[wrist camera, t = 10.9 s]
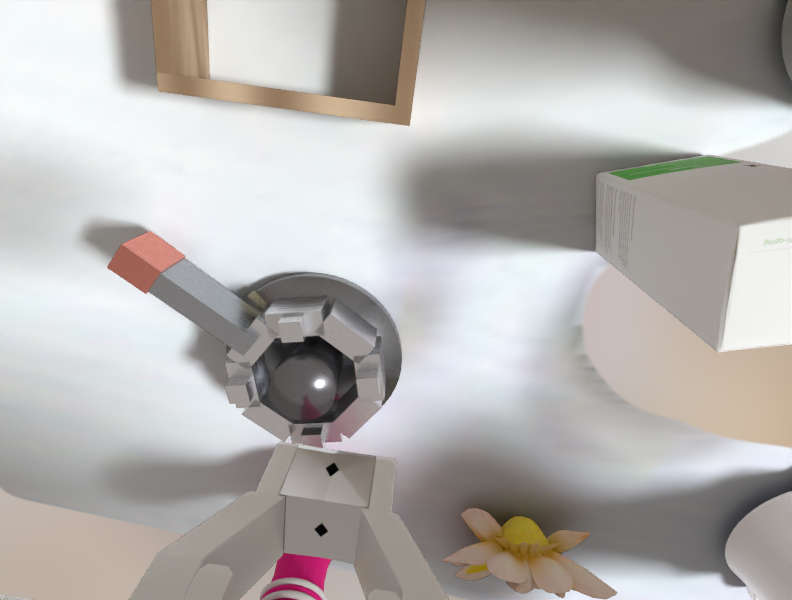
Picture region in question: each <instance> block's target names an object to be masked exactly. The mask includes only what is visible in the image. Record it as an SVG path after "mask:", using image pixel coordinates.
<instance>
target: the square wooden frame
mask: <svg viewBox="0 0 792 600" xmlns="http://www.w3.org/2000/svg"><path fill="white" fill-rule="evenodd" d="M425 3H426V0H407V7H406V16H405V25H404V33H403V42H402V51H401V59H400V68H399V77H398V85H397V94H396V103H395V105H388V104H381V103H374V102H367V101H359V100H352V99H345V98H338V97H331V96H323V95H316V94H309V93H302V92H295V91H287V90H280V89H273V88H266V87H259V86H251V85H244V84H237V83H230V82H223V81H215V80H210V74H209V47H208V21H207V0H151V8H152V21H153V33H154V46H155V58H156V71H157V83H158V91H160V92H167V93H175V94H182V95H189V96H196V97H204V98H211V99H218V100H225V101H233V102H240V103H247V104H254V105H262V106H269V107H276V108H284V109H291V110H298V111H305V112H313V113H320V114H327V115H334V116H342V117H349V118H356V119H363V120H371V121H378V122H385V123H392V124H400V125H407V126H410V119H411V111H412V103H413V96H414V88H415V80H416V72H417V65H418V57H419V49H420V41H421V34H422V26H423V18H424V11H425Z"/></svg>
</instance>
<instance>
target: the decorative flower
mask: <svg viewBox="0 0 792 600" xmlns="http://www.w3.org/2000/svg"><path fill="white" fill-rule="evenodd" d="M461 516H462V518H463V519H464V521H465V522H466V524H467V525H468V526H469V528H470V529H471V530H472V531H473V533H474V534H475V535H476V536H477V537H478V539H479V540H480V541H481V542H480V543H476V544H473V545H470V546H467V547H464V548H462V549H460V550H458V551H457V552H455V553H453V554H452V555H450V556H448V557H446V558H444V559H442V561H444V562H451V564H453V565H455V566H462V567H461V569H460V570H459V571H458V572H457V573H456V574H455V575H454V576H456V577H458V578H461V579H464V580H467V581H469V580H479V579H481V578H484V577H487V576H489V575H490V574H491V573H492V575H494V576H495V577H497V578H498V579H501V580H505V581H507V584H508V585H509V586H510V587H511V588H512V589H513V590H514V591H516V592H519V593H521V594H522V593H528V592H529V591H531V590H533V588H537V589H543V590H544V591H546V592H548V593H555V594H556V595H557V596H559V597H561V598H564V596H565V592H569V591H570V590H571V589H572V590H574V591H578V592H580V593H583V594H585V595H588V596H590V597H593V598H599V599H608V598H610V597H612V596H614V595H616V594H617V592H616V591H615V590H614V589H612V588H611V587H610V586H608V585H607V584H606V583H604V582H603V581H602V580H600V579H599V578H598V577H596V576H595V575H594V574H592V573H591V572H589V571H588V570H586V569H585V568H583V567H582V566H580V565H578V564H577V563H575V562H574V561H572V560H570V559H568V558H566V557H564V556H562V555H560V554H561V553H563V552H565V551H568V550H569V549H571V548H573V547H575V546H576V545H578V544H579V543H580V542H582V541H583V540H584V539H586V538H587V537H588V536H589V535H590V533H587V532H580V531H570V530H559V531H556V532H554V533H553V534H551V535H550V536H549V537H547V538H546V537H545V536H544V534H543V532H542V531H541V529H540V528H539V526H538V525H537V524H536V523H535V522H534V521H533V520H532V519H529V518H526V517H524V516H514V517H512V518H511V519H509V520H508V521H507V522H506V523H505V524H504V525H503V526H502V527H501V526H500V525H499V524H498V523H497V521H496V520H495V519H494V518H493V517H492V516H491V515H490V514H489V513H488V512H486V511H484V510H481V509H479V508H470V509H468V510H466V511H464V512H463V513H462V514H461Z"/></svg>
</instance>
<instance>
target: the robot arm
mask: <svg viewBox="0 0 792 600" xmlns="http://www.w3.org/2000/svg"><path fill="white" fill-rule="evenodd" d="M375 459H376V460H375ZM395 472H396V459H395V458H388V457H380V456H372V455H365V454H358V453H350V452H343V451H335V450H330V449H324V448H318V447H313V446H307V445H301V444H300V445H298V444H293V443H287V442H282V441H280V442H279V443H278V444H277V446H276V448H275V450H274V452H273V454H272V456H271V459H270V461H269V463H268V465H267V467H266V470H265V472H264V474H263V476H262V478H261V480H260V483H259V485H258V487H257V489H256V491H248V492H247V493H245V494H244V495H242V496H241V497H239V498H238V499H236V500H235V501H234V502H232V503H231V504H229V505H228V506H226V507H225V508H223V509H222V510H220V511H219V512H217V513H216V514H214V515H213V516H212V517H210V518H209V519H207V520H206V521H204V522H203V523H201V524H200V525H198V526H197V527H195V528H194V529H192V530H191V531H190V532H188V533H187V534H185V535H184V536H182V537H181V538H179V539H178V540H176V541H175V542H174V543H172V544H171V545H169V546H168V547H166V548H165V549H163V550H162V551H160V552H159V553H158V554H157V555H156V557H155V558H154V560H153V562H152V563H151V565H150V566H149V568H148V570H147V571H146V573H145V575H144V576H143V578H142V579H141V581H140V583H139V584H138V586H137V587H136V589H135V590H134V592H133V594H132V595H131V597H130V598H129V600H240V598H242V597H243V595H244V594H245V593H246V592H247V591H248V590H249V589H250V588H251V587H252V586H253V585H254V584H255V583H256V582H257V581H258V580H259V579H260V578H261V577H262V576H263V575H264V574H265V573H266V572H267V571H268V570H269V569H270V568H271V567H272V566H273V565H274V564H275V563H276V562H277V561H278V560H279V559H280V558H281V557H282V555H283V553H289V554H297V555H306V556H314V557H321V558H326V559H332V560H337V561H343V562H348V563H353V564H354V568H355V570H356V573H357V575H358V578H359V581H360V584H361V587H362V589H363V592H364V595H365V598H366V600H449V598H448V597H447V595H446V593H445V592H444V590H443V588H442V586H441V585H440V583H439V581H438V580H437V578H436V576H435V575H434V573H433V571H432V570H431V568H430V566H429V565H428V563H427V561H426V560H425V558H424V556H423V555H422V553H421V551H420V549H419V548H418V546H417V544H416V543H415V541H414V539H413V538H412V536H411V534H410V533H409V531H408V529H407V528H406V526H405V524H404V523H403V521H402V519H401V518H400V516H399V514H398V513H394V512H392V507H393V495H394V484H395ZM372 480H373V481H372ZM725 558H726V562H727V564H728V566H729V568H730V569H731V570H732V571H733V573H735V574H736V575H737V576H738V577H739V578H740V579H741V580H742V581H743V582H744V583H745V584H746V587H747V590H748V593H749V595H750V596H751V598H752V599H753V600H792V491H790V492H787V493H784V494H781V495H779V496H777V497H774V498H772V499H770V500H768V501H766V502H765V503H763V504H761V505H760V506H758V507H756V508H755V509H754V510H752V511H751V512H750V513H748V514H747V515H746V516H745V517H744V518H743V519H742V520H741V521H740V522H739V523H738V524H737V525H736V527H735V528H734V529H733V531H732V532H731V534H730V536H729V538H728V540H727V543H726V548H725ZM0 600H34V599H28V598H21V597H15V596H8V595H1V594H0Z"/></svg>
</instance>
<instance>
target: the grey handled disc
mask: <svg viewBox="0 0 792 600" xmlns="http://www.w3.org/2000/svg"><path fill="white" fill-rule="evenodd" d="M107 268H108V269H110V270H111V271H113V272H114V273H116V274H117V275H119V276H120V277H122V278H123V279H125V280H126V281H128V282H129V283H131V284H132V285H134V286H135V287H137V288H138V289H139V290H141V291H142V292H144V293H145V294H146V293H148V292H150V293H151V294H153V295H154V296H156V297H157V298H159V299H160V300H161V301H163V302H164V303H166V304H167V305H169V306H170V307H172V308H173V309H175V310H176V311H178V312H179V313H181V314H182V315H183V316H185V317H186V318H188V319H189V320H191V321H192V322H194V323H195V324H197V325H198V326H200V327H201V328H203V329H204V330H206V331H207V332H208V333H210V334H211V335H213V336H214V337H216V338H217V339H219V340H220V341H222V342H223V343H225V344H226V345H228V346H229V347H231V348H232V349H231V350H230V351H229V353H228V354H227V355H226V356H227V357H229V358H228V359H227V361H226V362H225V367H226V370H227V374H228V378H229V381H228V382H227V384H226V385H225V388H226V392H227V395H228V399H229V403H230V404H233V403H235V404H236V408H245V409H244V411H243V413H242V415H243V416H245V417H246V418H248V419H250V420H251V421H253V422H254V423H256V424H257V425H259V426H260V427H262V428H264V429H265V430H267V431H268V432H270V433H271V434H273V435H274V436H276V437H278V438H279V439H281V440H282V441H285V440H286V439H287V438H288V437H289V436H291V440H292V443H293V444H300V443H302V444H303V445H307V446H313V447H318V448H324V447H325V443H326V442H342V438H343V435H345V436H346V437H348V438H350V437H351V436H352V435H353V434H354V433H355V432H356V431H357V430H359V429H360V428H361V427H362V426H363V425H364V424H365V423H366V422H367V421H368V420H369V419H370V418H371V417H372V416H373V415H374V414H375V413H376V412H377V411H378V410H379V409H380V408H381V407H382V400H384V397H385V384H386V376H385V366H384V356H383V347H382V337H381V336H376V335H377V328H375V327H374V326H373V325H371V324H370V323H369V322H367V321H366V320H365V319H363V318H362V317H361V316H360V315H358V314H357V313H356V312H354V311H353V310H352V309H350V308H349V307H348V306H346V305H345V304H344V303H343V302H341V301H340V300H339V299H337V298H336V299H335V300H334V301H333V303H332V304H331V305H330V306H329V299H328V295H323V296H307V297H292V298H276V299H275V300H274V302H273V303H272V304H270V303H269V302H268V303H267V304H266V306H265V307H264V308H263V309H262V311H261V312H259V311H257V310H256V309H254V308H253V307H252V306H250V305H249V304H247V303H246V302H245V301H243V300H242V299H240V298H239V297H238V296H236V295H235V294H233V293H232V292H231V291H229V290H228V289H226V288H225V287H224V286H222V285H221V284H220V283H218V282H217V281H215V280H214V279H213V278H211V277H210V276H208V275H207V274H206V273H204V272H203V271H201V270H200V269H199V268H197V267H196V266H194V265H193V264H192V263H190V262H189V261H187V260H186V259H185V256H184V255H183V254H182V253H180V252H179V251H177V250H176V249H175V248H173V247H172V246H170V245H169V244H168V243H166V242H165V241H164V240H162V239H161V238H159V237H158V236H157V235H155V234H154V233H152V232H151V231H150V232H147V233H145V234H143V235H141V236H138V237H136V238H134V239H132V240H129V241H127V242H125V243H123V244H121V246H120V247H119V249H118V250H117V252H116V254H115V255H114V257H113V258H112V260H111V262H110V263H109V265H108V267H107ZM306 336H320V337H322V338H323V339H324V340H326V341H327V342H328V343H330V344H331V345H333V346H334V347H335V348H337V349H338V350H339V351H341V352H342V353H344V354H345V355H346V356H348V357H349V358H350V359H352V360H353V361H354V366H355V373H356V383H355V384H354V385H353V386H352V387H351V388H350V389H349V390H348V391H347V392H346V393H345V394H344V395H343V396H342V397H341V398H340V399H339V400H334V402H333V405H332V407H331V408H330V409H329V411H328V412H327V413H325V414H324V415H323V416H321V417H319V418H316V419H313V420H296V419H293V418H290V417H287V416H285V415H284V414H282V413H281V412H279V411H278V410H277V409H276V408H275V407H274V405H273V404H272V402H271V400H270V398H269V394H268V386H269V382H270V377H269V372H268V368H267V364H266V359H265V355H264V351H265V350H266V349H267V348H268V346H269V345H270V344H271V343H272V342H273V340H274V339H275V338H281V341H282V343H288V342H304V340H305V338H306Z"/></svg>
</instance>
